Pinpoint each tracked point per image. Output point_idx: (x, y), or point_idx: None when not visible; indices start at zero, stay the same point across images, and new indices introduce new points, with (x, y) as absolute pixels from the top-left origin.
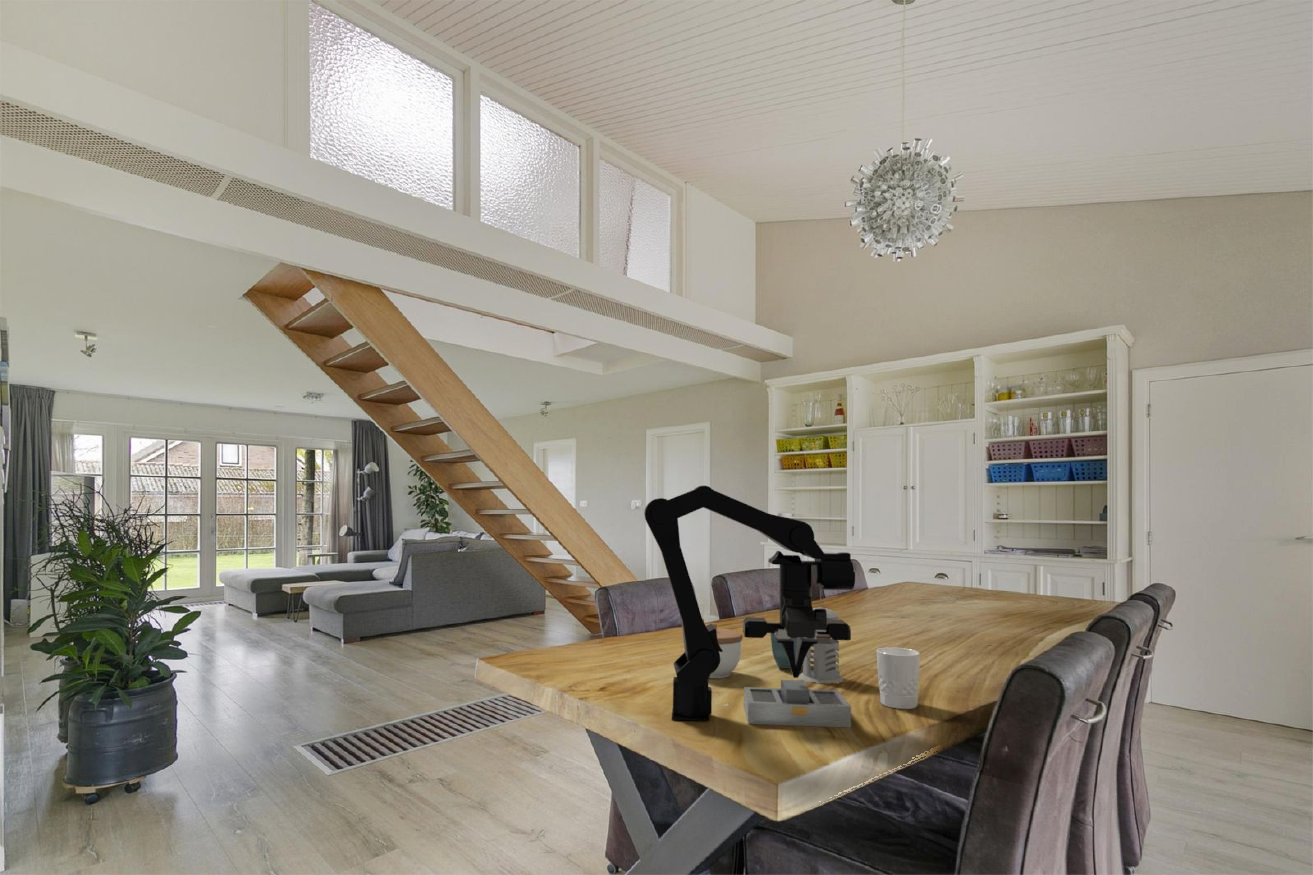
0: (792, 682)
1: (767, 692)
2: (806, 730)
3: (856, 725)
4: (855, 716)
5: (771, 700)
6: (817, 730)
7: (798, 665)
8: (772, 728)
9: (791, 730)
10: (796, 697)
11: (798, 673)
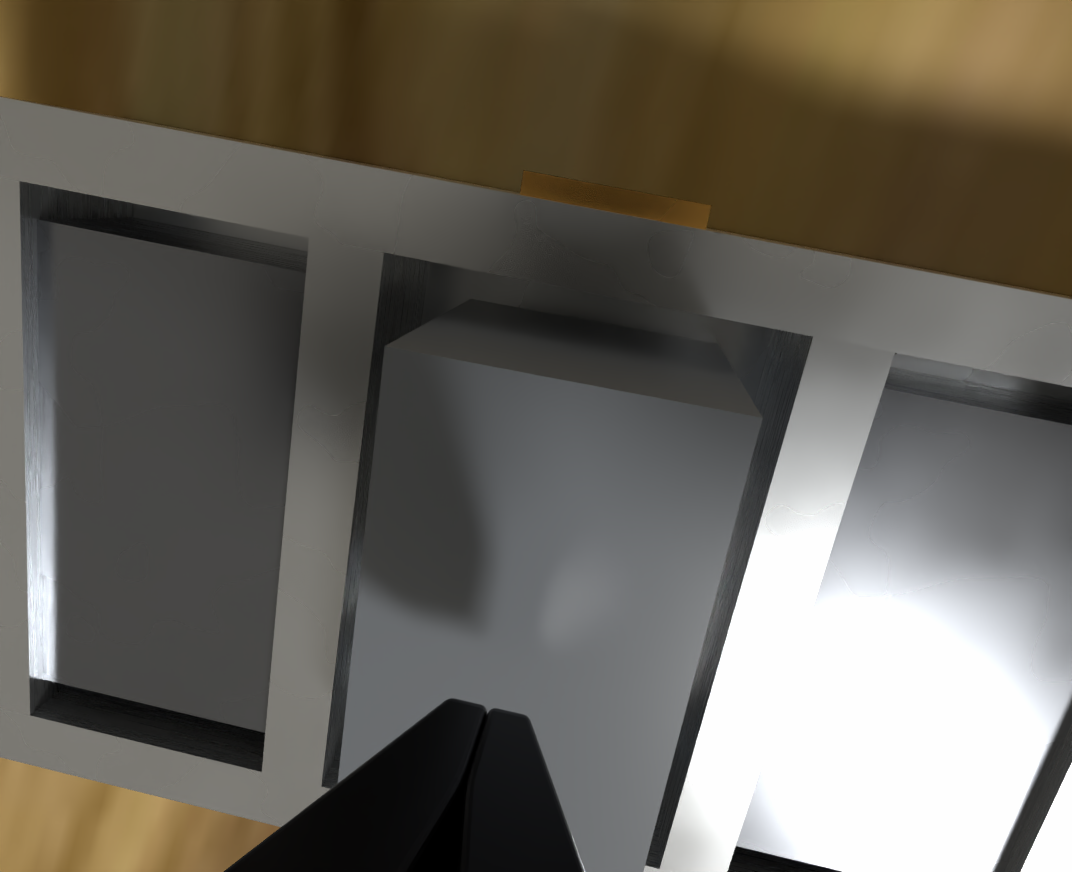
0: None
1: (792, 826)
2: (594, 54)
3: None
4: None
5: (887, 516)
6: (476, 48)
7: (391, 832)
8: (949, 145)
9: (760, 61)
10: (600, 362)
11: (433, 728)
